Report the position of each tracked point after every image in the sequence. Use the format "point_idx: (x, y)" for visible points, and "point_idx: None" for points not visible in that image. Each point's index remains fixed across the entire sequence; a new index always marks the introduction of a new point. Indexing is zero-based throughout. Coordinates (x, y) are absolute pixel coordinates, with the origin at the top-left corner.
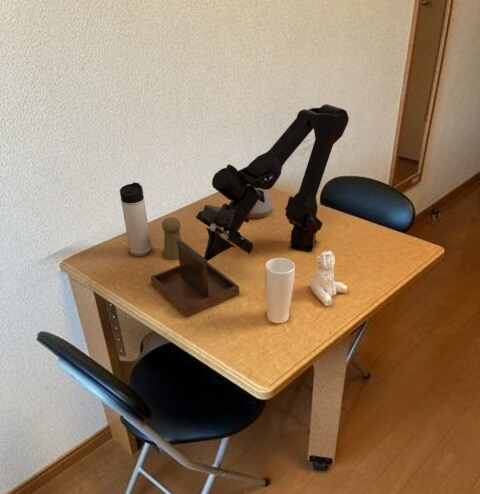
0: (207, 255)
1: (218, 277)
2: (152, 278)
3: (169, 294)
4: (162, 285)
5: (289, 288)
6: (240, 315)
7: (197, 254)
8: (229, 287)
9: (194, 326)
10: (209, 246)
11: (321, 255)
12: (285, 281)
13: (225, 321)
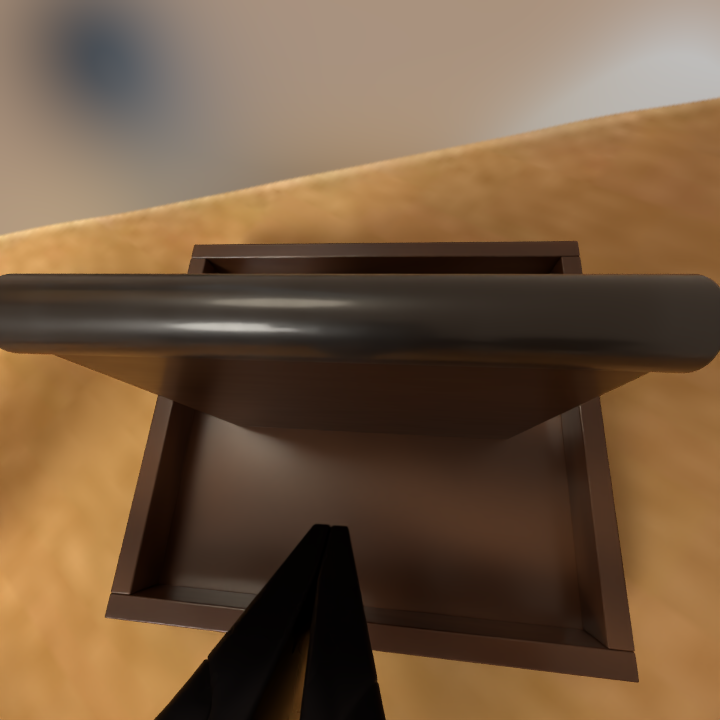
0: (298, 555)
1: None
2: (548, 241)
3: (349, 244)
4: (443, 249)
5: None
6: (41, 470)
7: (131, 288)
8: (214, 588)
9: (155, 271)
10: (305, 673)
11: None
12: None
13: (73, 386)
